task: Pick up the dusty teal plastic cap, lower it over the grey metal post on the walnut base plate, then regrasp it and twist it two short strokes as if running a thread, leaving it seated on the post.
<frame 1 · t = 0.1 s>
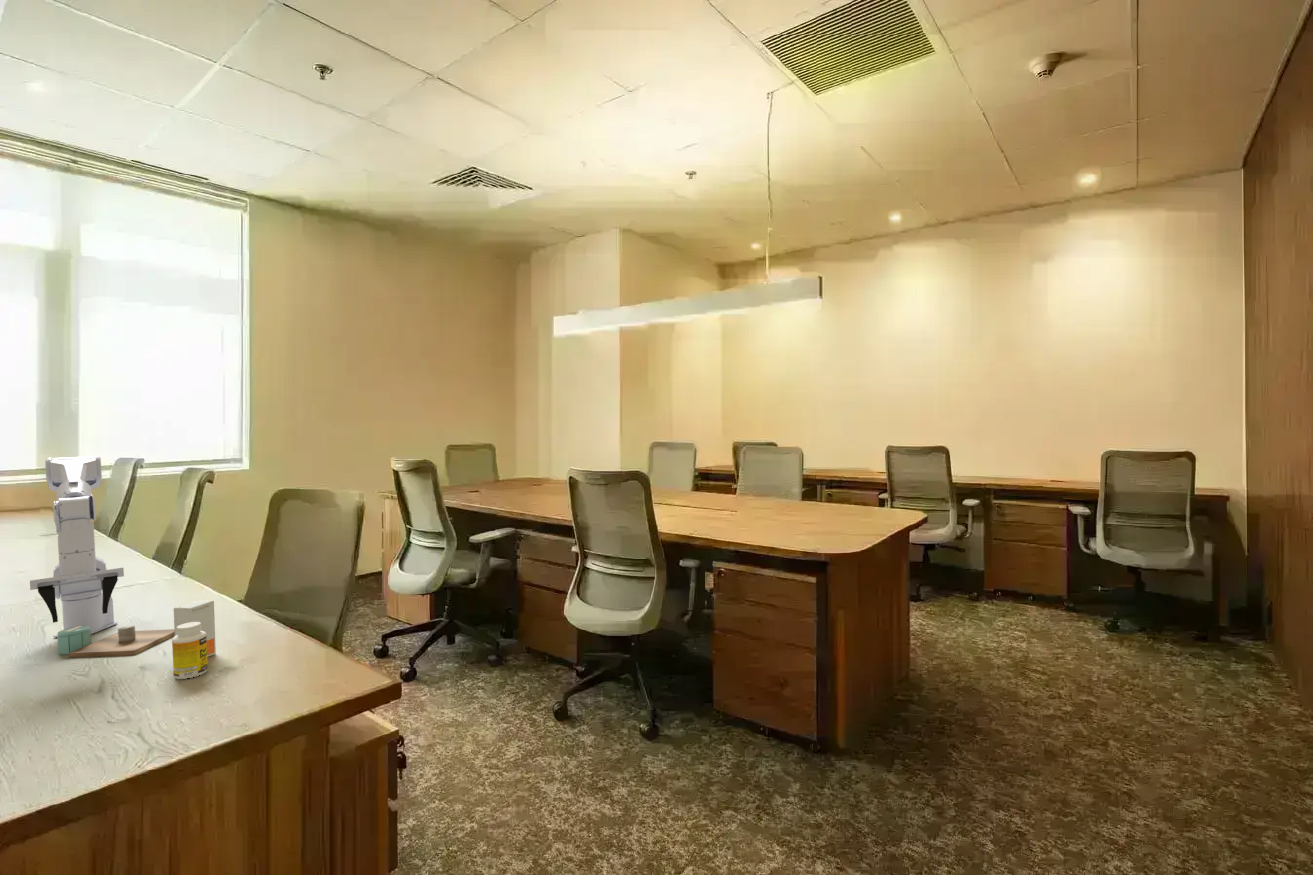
hand: (80, 617, 131), 11 cm above the table, tool pointing down, fingers open, 7 cm apart
supplement bottle: (191, 675, 126), on the table
skincare box: (196, 659, 135), on the table
post fixture: (127, 644, 145), on the table
cap: (75, 649, 142), on the table
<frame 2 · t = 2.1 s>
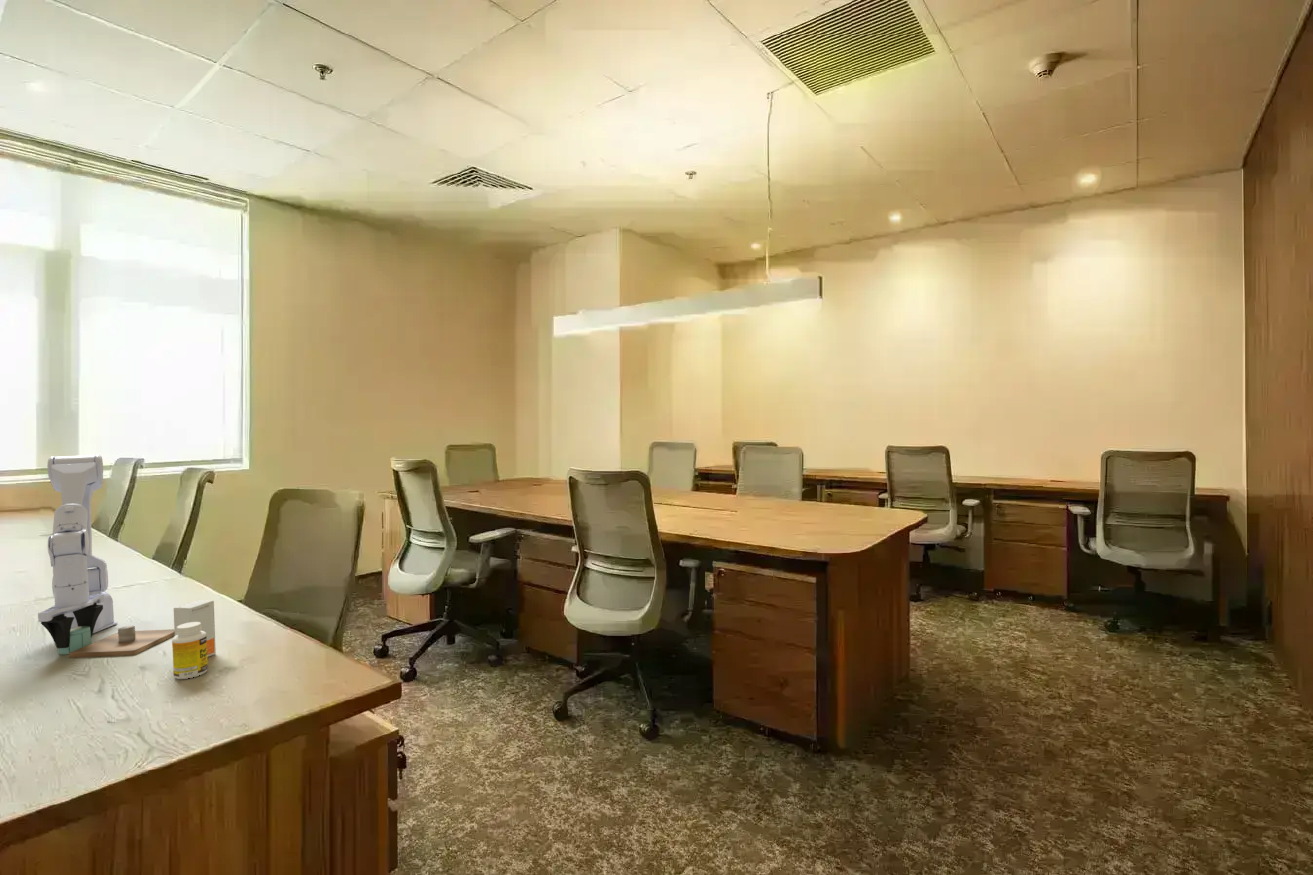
hand: (74, 642, 142), 2 cm above the table, tool pointing down, fingers closed on cap, 5 cm apart
cap: (75, 649, 142), on the table, touching gripper
everything else where it was.
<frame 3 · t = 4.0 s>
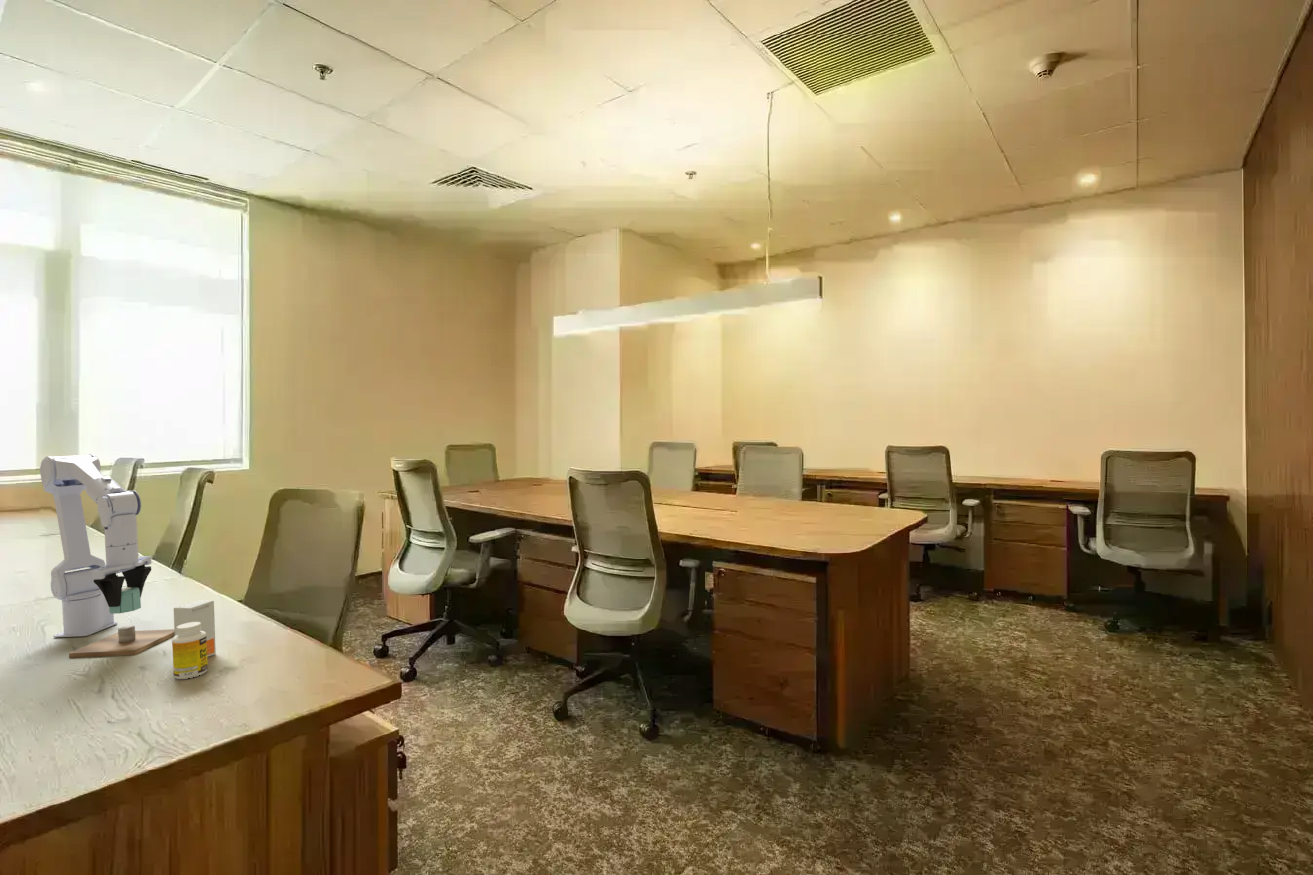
hand: (124, 602, 144), 10 cm above the table, tool pointing down, fingers closed on cap, 5 cm apart
cap: (125, 609, 144), point 8 cm above the table, touching gripper
everything else where it was.
when the fingers open (3 cm above the table, at t = 5.8 s): cap stays where it is, resting on post fixture.
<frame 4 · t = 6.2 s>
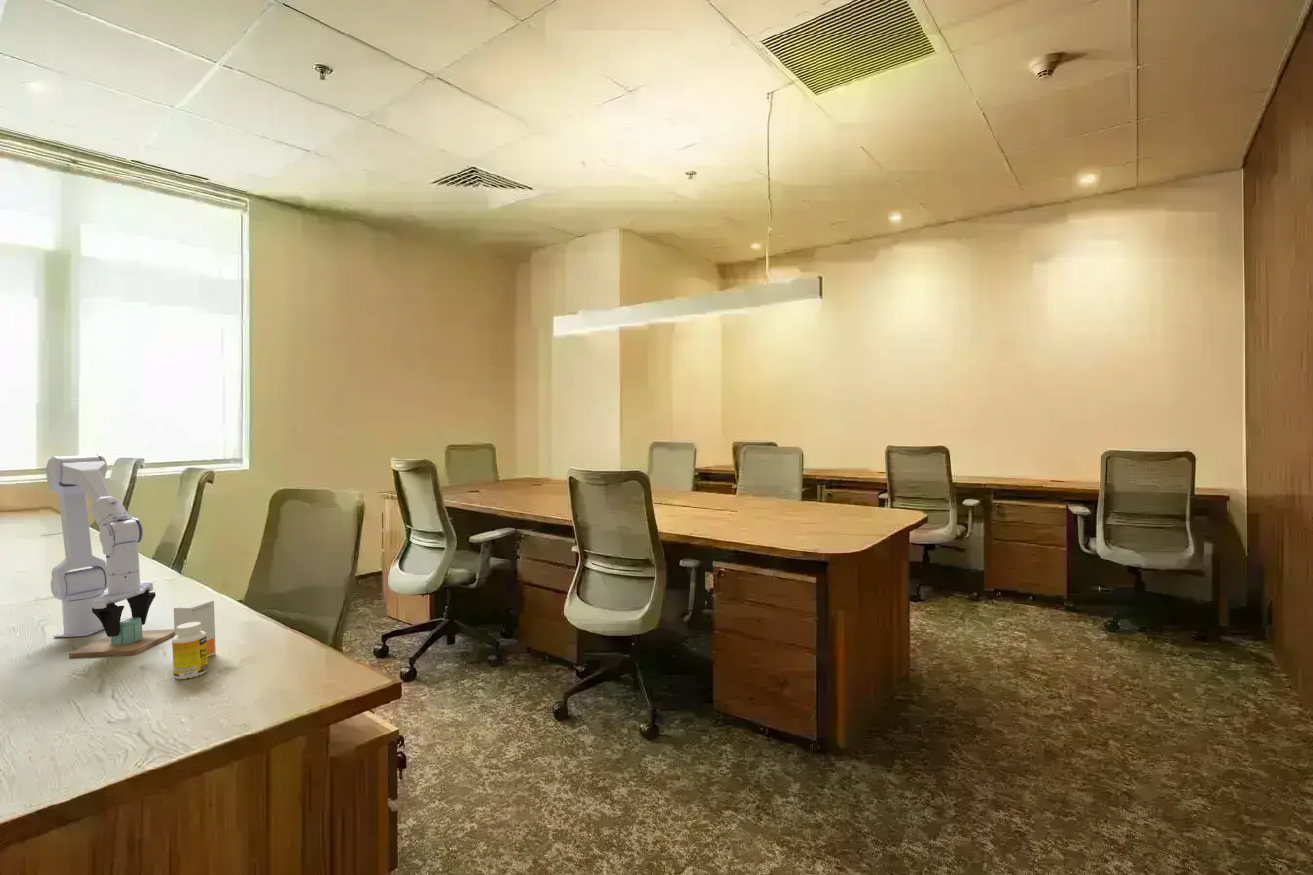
hand: (126, 630, 144), 3 cm above the table, tool pointing down, fingers open, 7 cm apart
cap: (126, 640, 144), point 1 cm above the table, touching post fixture
everything else where it was.
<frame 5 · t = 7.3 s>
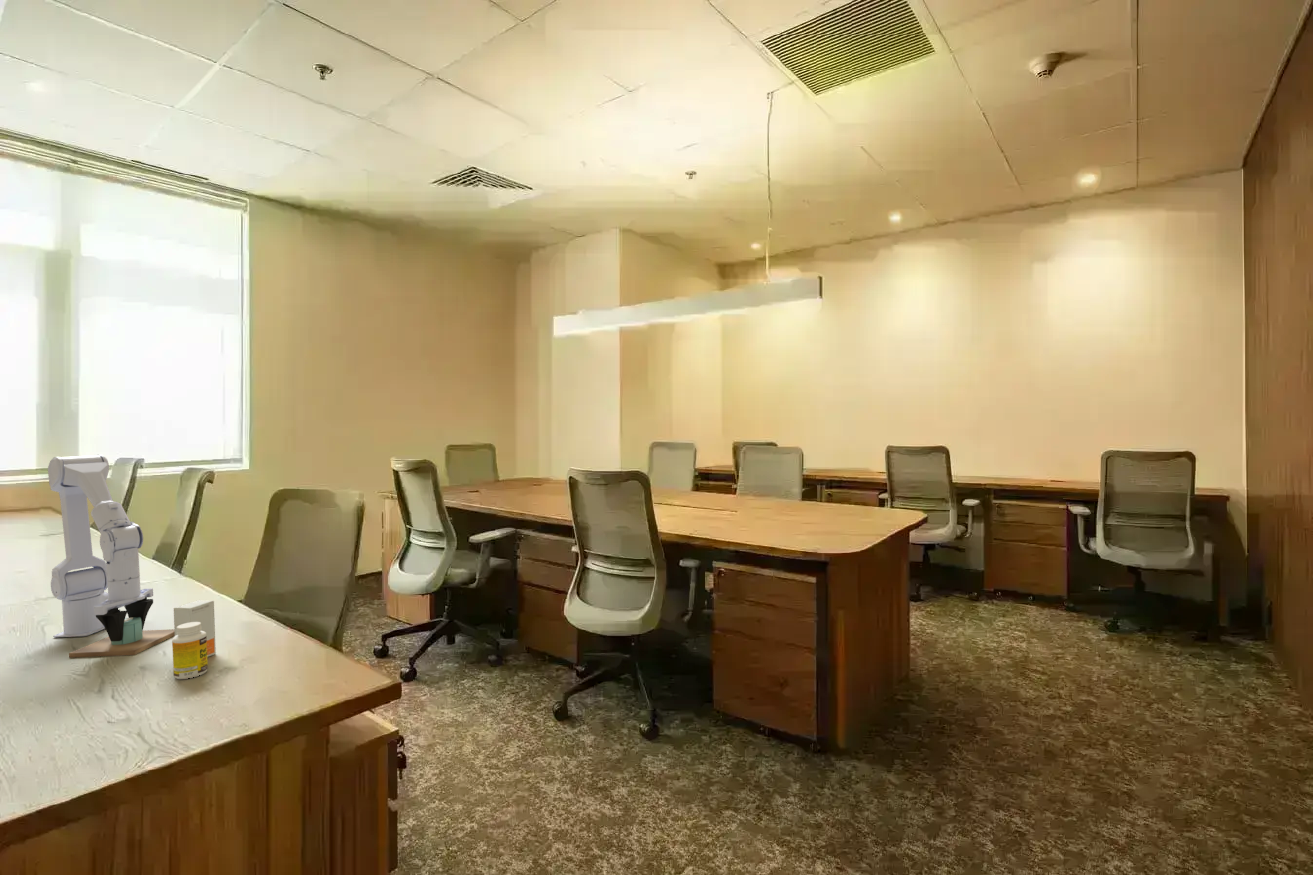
hand: (127, 636, 144), 2 cm above the table, tool pointing down, fingers closed on cap, 5 cm apart
cap: (127, 640, 144), point 1 cm above the table, touching gripper, post fixture
everything else where it was.
when the fingers open (2 cm above the table, at t = 8.8 s): cap stays where it is, resting on post fixture.
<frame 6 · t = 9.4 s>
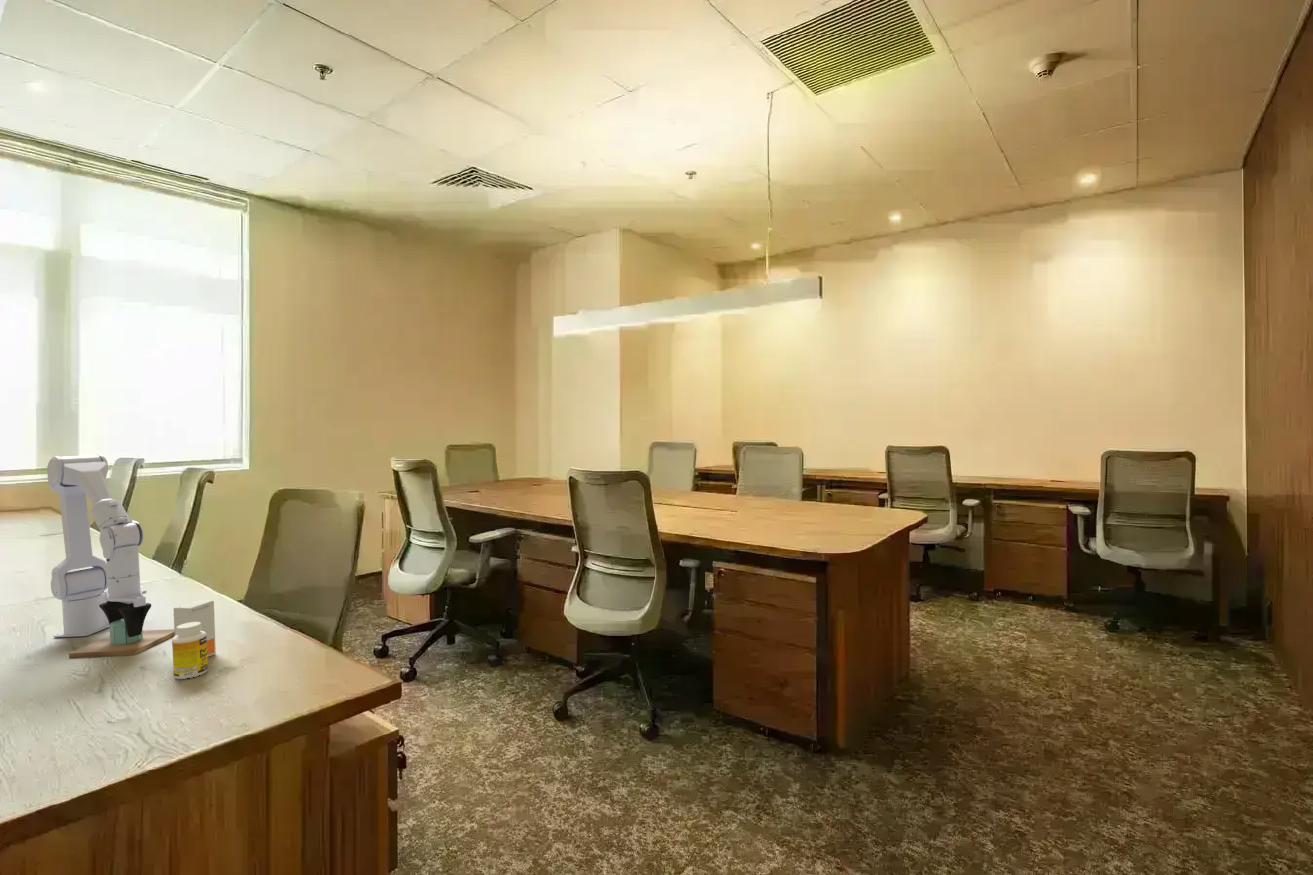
hand: (126, 633, 144), 3 cm above the table, tool pointing down, fingers open, 7 cm apart
cap: (126, 640, 144), point 1 cm above the table, touching post fixture
everything else where it was.
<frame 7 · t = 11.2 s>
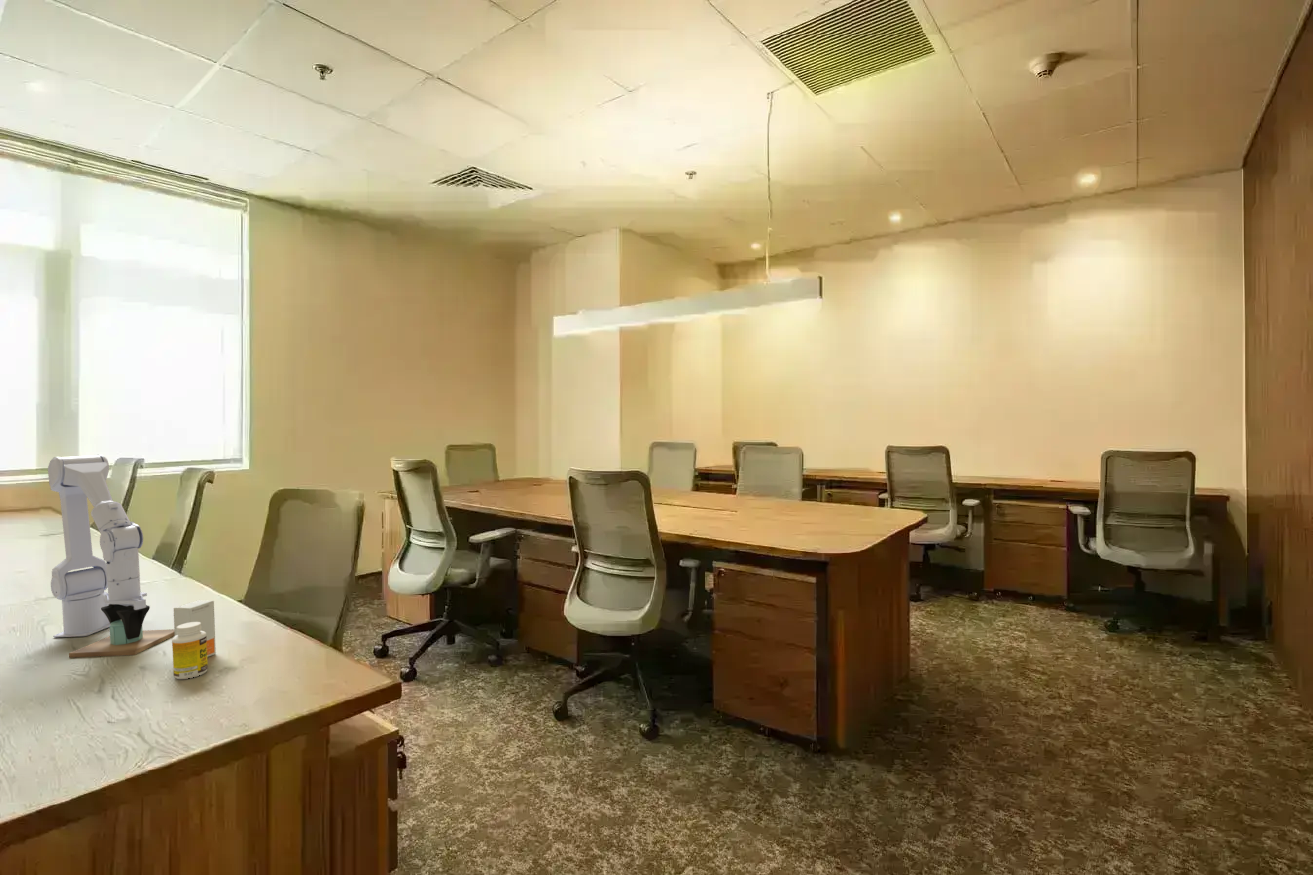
hand: (127, 636, 144), 2 cm above the table, tool pointing down, fingers closed on cap, 5 cm apart
cap: (126, 640, 144), point 1 cm above the table, touching gripper, post fixture
everything else where it was.
when the fingers open (2 cm above the table, at t = 12.2 s): cap stays where it is, resting on post fixture.
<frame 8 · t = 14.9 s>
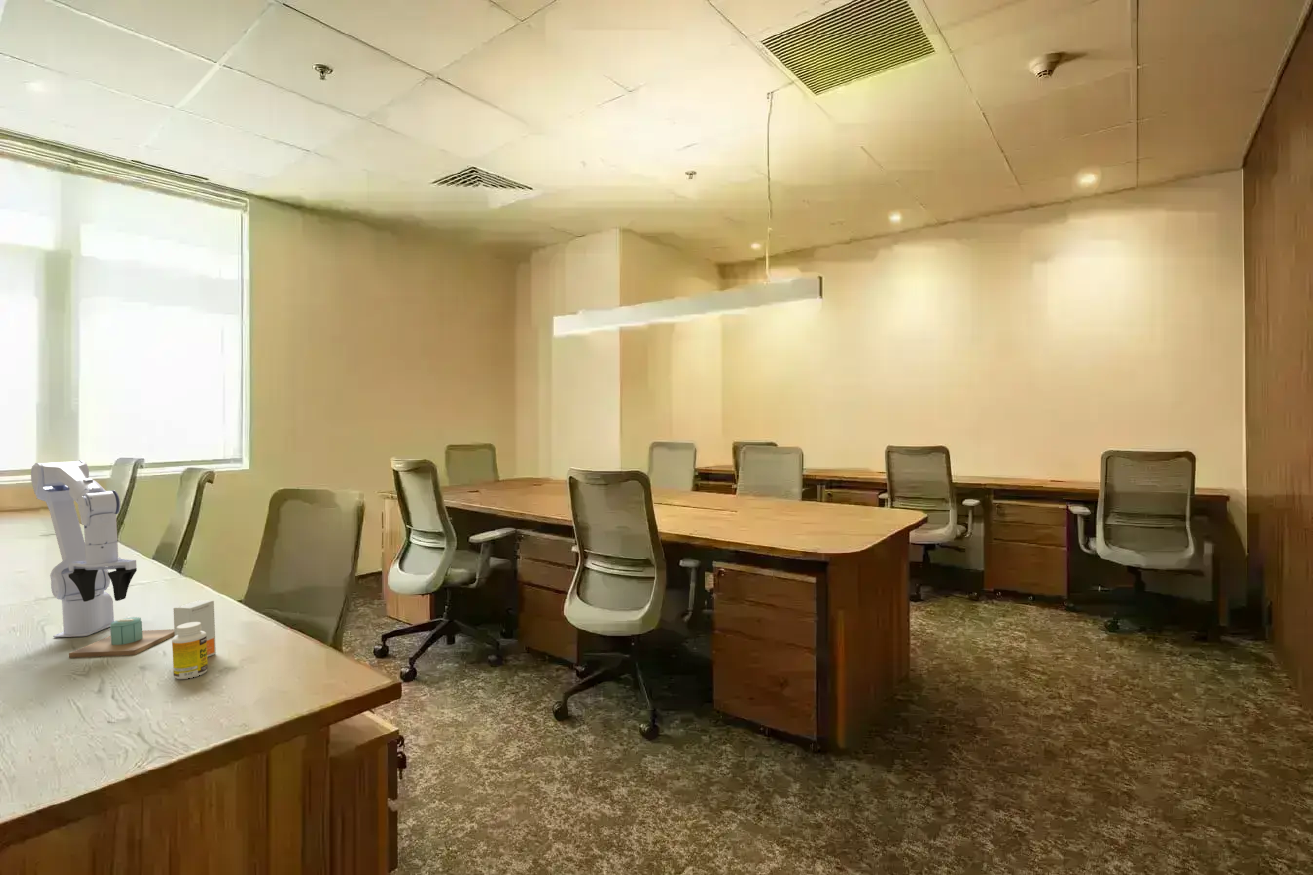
hand: (104, 599, 147), 10 cm above the table, tool pointing down, fingers open, 7 cm apart
cap: (126, 640, 144), point 1 cm above the table, touching post fixture
everything else where it was.
at the end: cap 0.1 cm off-centre on the post fixture, point 1.0 cm above the post fixture's base; cap tilted 0°; the gripper is holding nothing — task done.
